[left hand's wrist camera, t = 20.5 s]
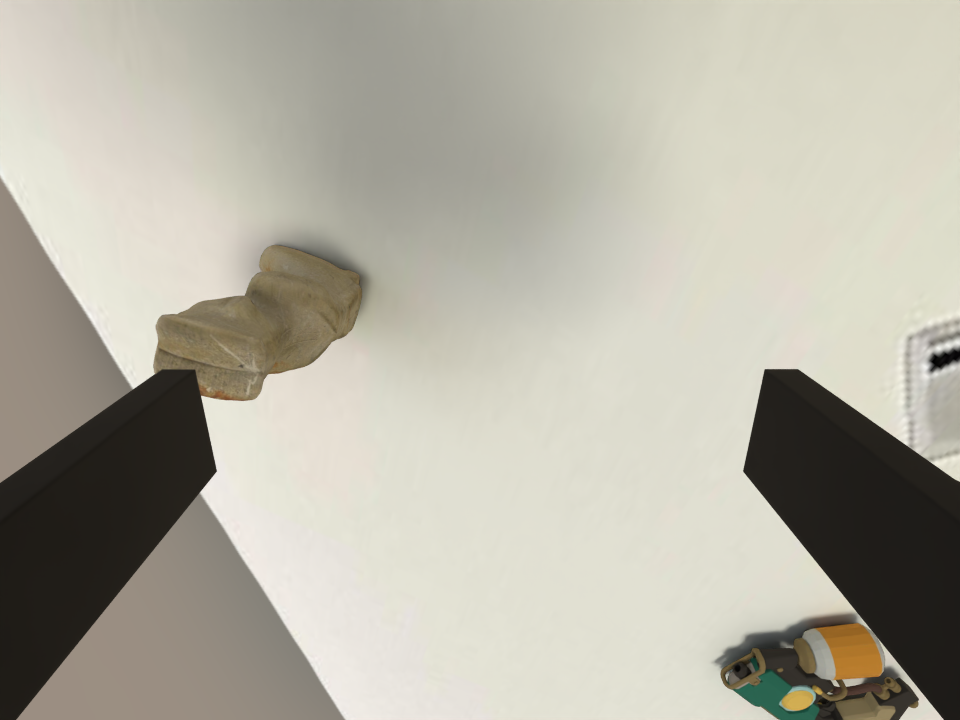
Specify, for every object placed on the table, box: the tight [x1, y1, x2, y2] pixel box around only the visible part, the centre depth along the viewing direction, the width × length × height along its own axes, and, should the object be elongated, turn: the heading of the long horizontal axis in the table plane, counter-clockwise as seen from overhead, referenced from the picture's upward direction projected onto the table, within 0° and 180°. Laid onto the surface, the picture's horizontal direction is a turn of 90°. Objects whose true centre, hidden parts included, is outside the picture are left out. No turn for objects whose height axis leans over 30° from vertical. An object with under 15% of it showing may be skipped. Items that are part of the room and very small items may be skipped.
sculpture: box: [153, 245, 362, 401], centre depth 31 cm, size 6×7×15 cm
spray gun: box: [721, 623, 919, 720], centre depth 51 cm, size 4×17×15 cm
